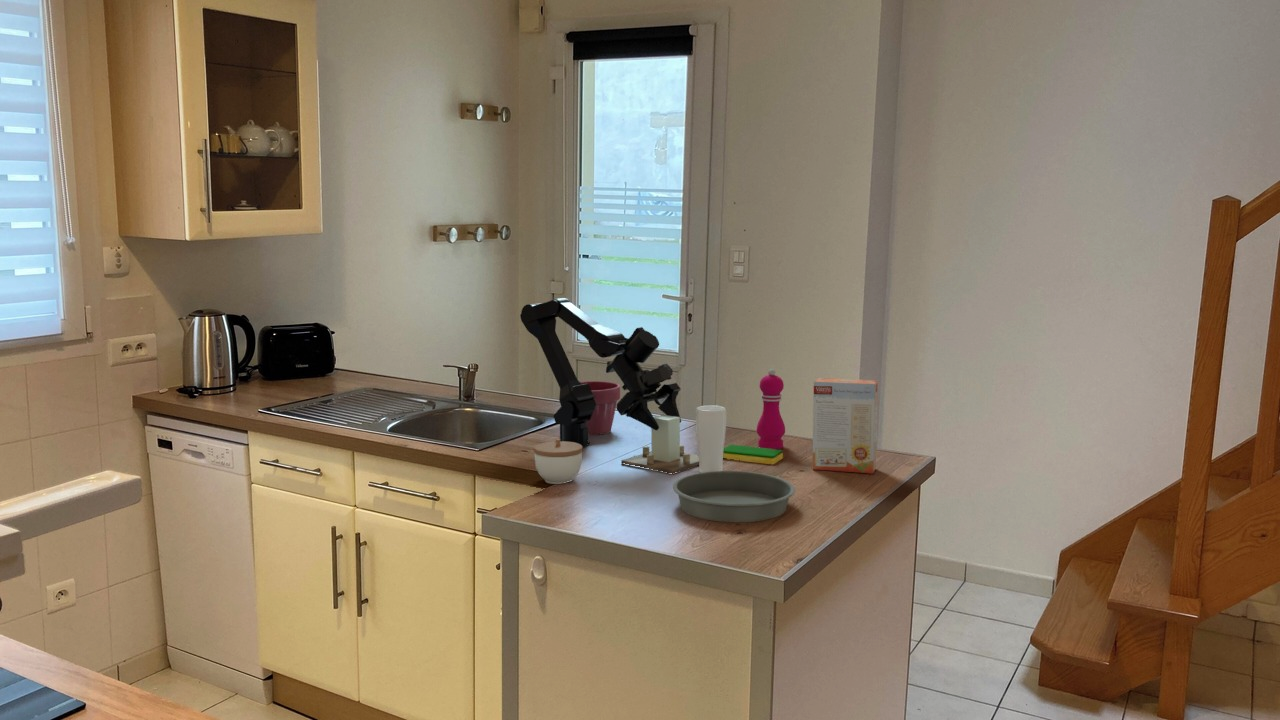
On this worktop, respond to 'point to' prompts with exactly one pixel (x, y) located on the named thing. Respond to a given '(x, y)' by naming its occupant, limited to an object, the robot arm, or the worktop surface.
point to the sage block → (666, 438)
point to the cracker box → (845, 425)
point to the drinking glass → (710, 437)
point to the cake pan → (733, 495)
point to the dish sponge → (753, 454)
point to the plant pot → (603, 406)
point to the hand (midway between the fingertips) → (669, 426)
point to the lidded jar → (558, 460)
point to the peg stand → (669, 467)
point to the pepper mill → (771, 413)
